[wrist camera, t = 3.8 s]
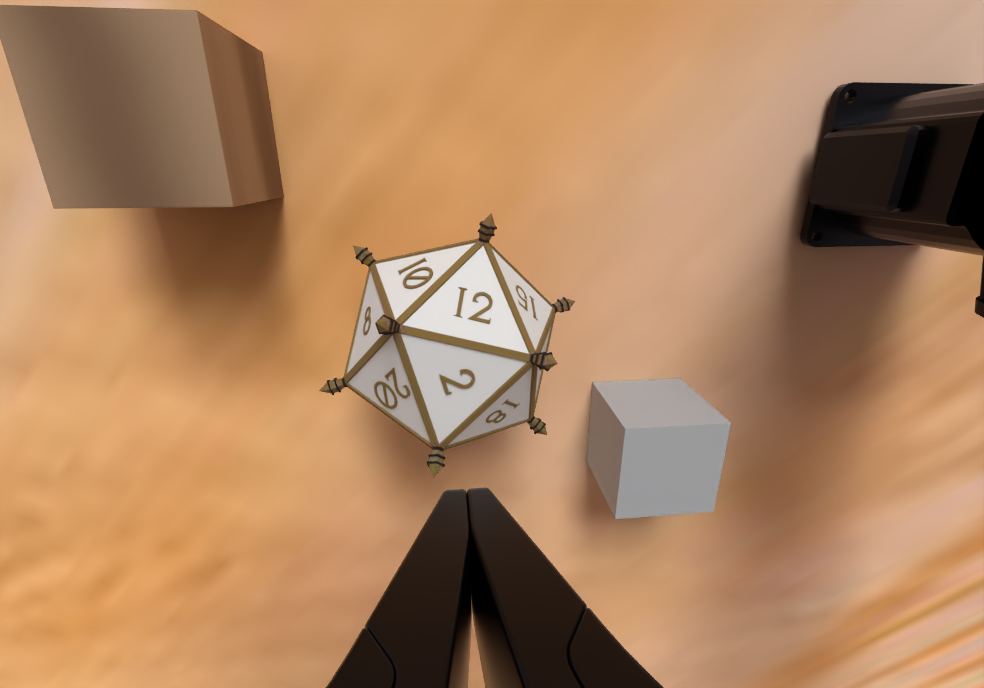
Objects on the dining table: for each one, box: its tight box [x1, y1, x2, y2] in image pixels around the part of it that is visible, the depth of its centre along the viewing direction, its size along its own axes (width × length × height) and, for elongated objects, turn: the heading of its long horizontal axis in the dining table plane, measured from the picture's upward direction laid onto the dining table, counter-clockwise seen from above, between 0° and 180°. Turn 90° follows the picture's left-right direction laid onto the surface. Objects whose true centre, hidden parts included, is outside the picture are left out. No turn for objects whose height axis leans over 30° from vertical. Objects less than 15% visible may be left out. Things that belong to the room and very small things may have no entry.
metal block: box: [0, 5, 284, 209], centre depth 15 cm, size 5×5×5 cm
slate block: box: [586, 378, 731, 519], centre depth 22 cm, size 4×4×4 cm
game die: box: [320, 213, 575, 477], centre depth 18 cm, size 9×8×10 cm
